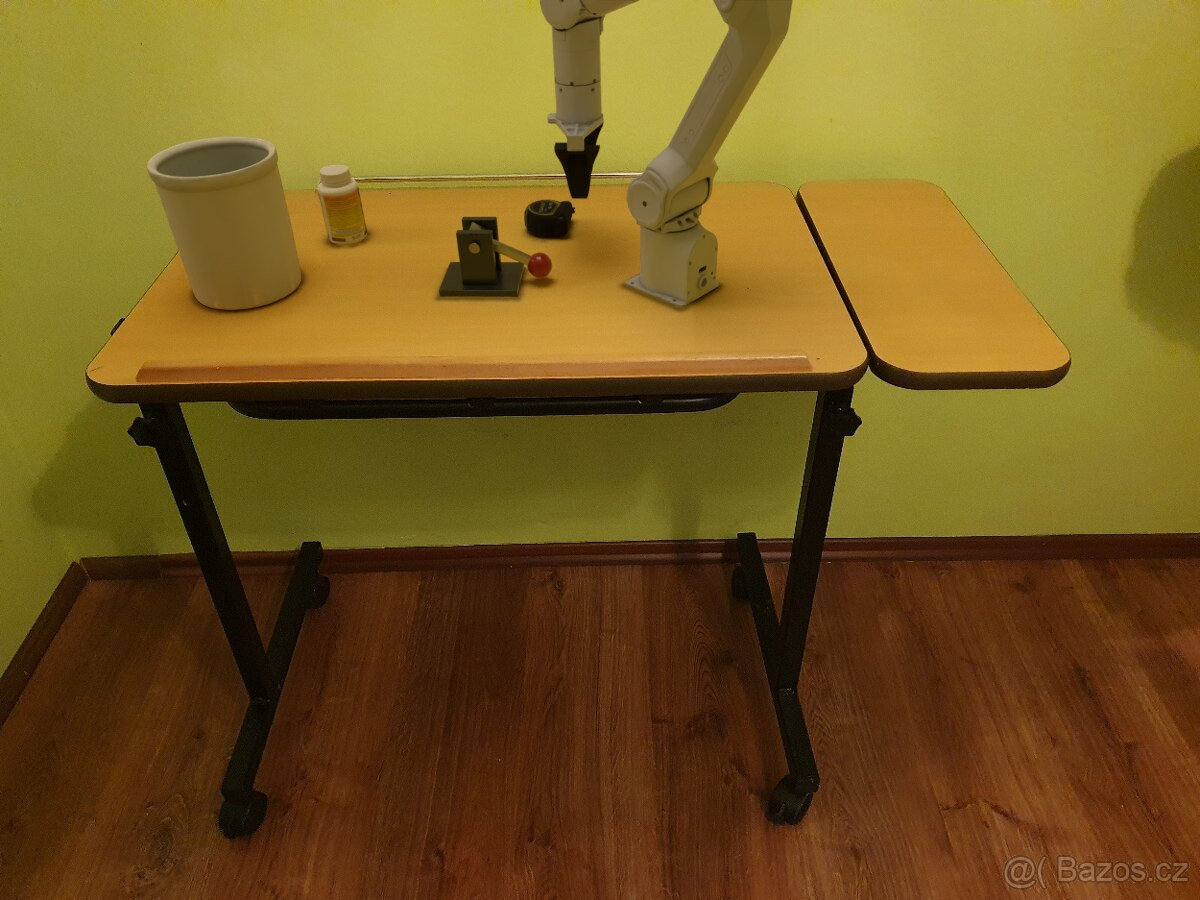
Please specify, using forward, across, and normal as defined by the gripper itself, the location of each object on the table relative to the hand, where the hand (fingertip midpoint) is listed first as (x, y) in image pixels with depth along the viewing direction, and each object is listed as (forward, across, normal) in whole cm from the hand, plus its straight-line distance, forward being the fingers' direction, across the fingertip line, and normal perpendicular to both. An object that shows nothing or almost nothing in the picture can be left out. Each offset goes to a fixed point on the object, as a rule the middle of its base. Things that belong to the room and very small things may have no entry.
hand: (581, 186), depth 119 cm
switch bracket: (+9, +10, -13) cm, 18 cm away
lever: (+6, +10, -9) cm, 15 cm away
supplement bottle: (+10, -4, -34) cm, 36 cm away
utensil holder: (+10, +10, -44) cm, 46 cm away
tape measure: (+10, -7, -5) cm, 13 cm away
